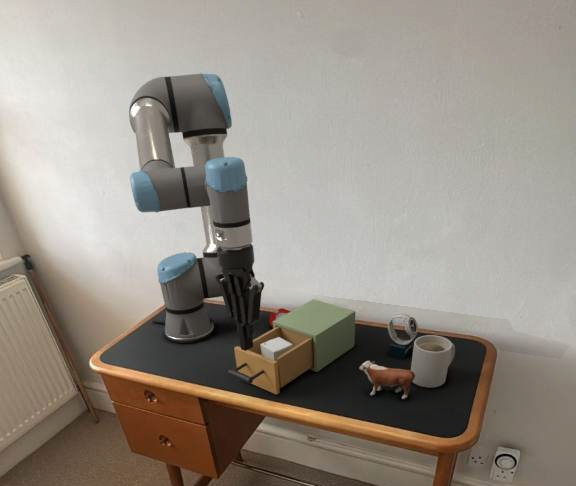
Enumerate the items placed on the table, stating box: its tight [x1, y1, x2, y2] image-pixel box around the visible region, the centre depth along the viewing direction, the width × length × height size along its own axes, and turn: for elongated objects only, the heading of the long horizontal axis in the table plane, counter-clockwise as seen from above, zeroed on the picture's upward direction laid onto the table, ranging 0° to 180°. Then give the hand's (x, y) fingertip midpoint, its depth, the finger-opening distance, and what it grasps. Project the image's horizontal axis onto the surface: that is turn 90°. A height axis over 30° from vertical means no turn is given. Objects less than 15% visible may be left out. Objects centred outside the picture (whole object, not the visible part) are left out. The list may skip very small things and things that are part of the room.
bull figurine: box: [359, 360, 415, 400], centre depth 112 cm, size 4×13×8 cm, turn 69°
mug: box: [410, 334, 456, 388], centre depth 116 cm, size 11×10×10 cm
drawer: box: [227, 326, 314, 396], centre depth 119 cm, size 22×14×9 cm, turn 139°
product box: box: [261, 337, 292, 361], centre depth 120 cm, size 6×6×7 cm
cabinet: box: [272, 298, 357, 373], centre depth 130 cm, size 18×15×11 cm
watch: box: [387, 313, 419, 360], centre depth 126 cm, size 6×8×11 cm
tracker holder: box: [269, 307, 292, 329], centre depth 148 cm, size 12×4×10 cm
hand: (247, 347), depth 110 cm, fingers closed
